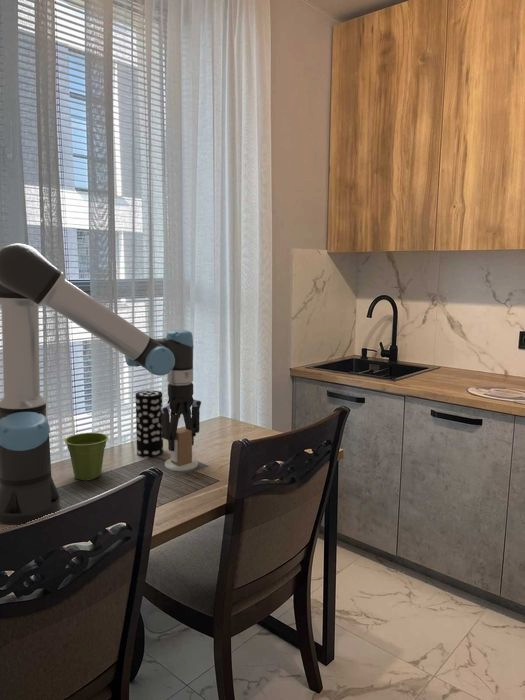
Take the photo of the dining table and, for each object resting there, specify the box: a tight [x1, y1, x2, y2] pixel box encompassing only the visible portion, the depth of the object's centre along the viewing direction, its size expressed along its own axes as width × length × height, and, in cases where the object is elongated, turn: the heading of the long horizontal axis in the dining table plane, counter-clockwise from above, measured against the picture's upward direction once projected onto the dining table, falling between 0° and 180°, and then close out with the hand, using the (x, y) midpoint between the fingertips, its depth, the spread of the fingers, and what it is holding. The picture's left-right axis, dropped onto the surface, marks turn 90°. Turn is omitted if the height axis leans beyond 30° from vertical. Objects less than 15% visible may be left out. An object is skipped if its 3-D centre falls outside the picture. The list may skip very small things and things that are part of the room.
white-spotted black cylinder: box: [135, 390, 164, 458], centre depth 170 cm, size 8×8×20 cm
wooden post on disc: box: [164, 427, 199, 472], centre depth 160 cm, size 10×10×11 cm
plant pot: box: [64, 432, 109, 481], centre depth 152 cm, size 12×12×11 cm
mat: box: [153, 460, 210, 478], centre depth 161 cm, size 12×12×1 cm
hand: (181, 458), depth 161 cm, fingers closed on wooden post on disc, 4 cm apart
